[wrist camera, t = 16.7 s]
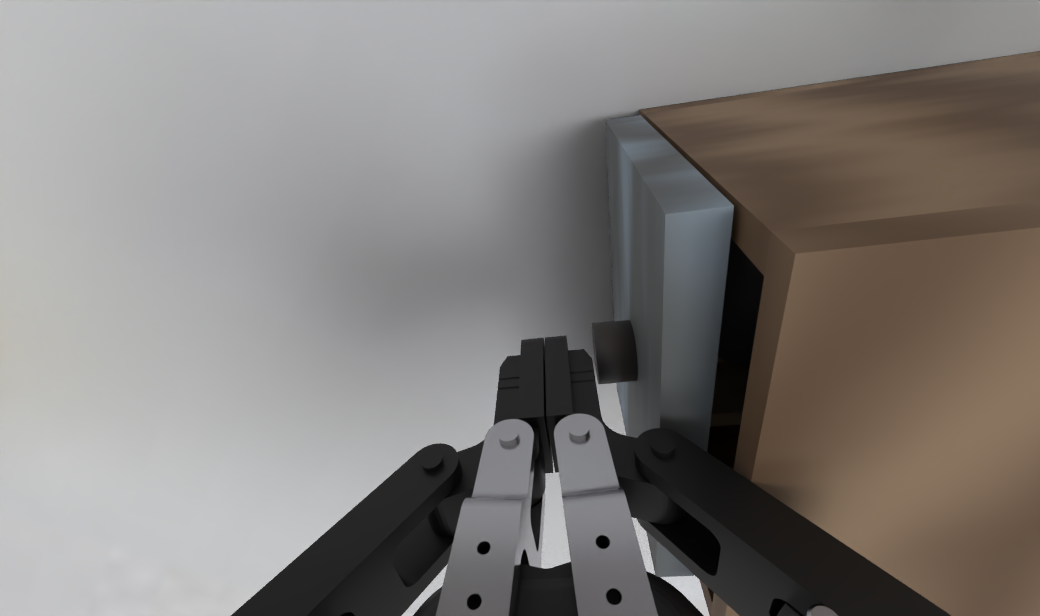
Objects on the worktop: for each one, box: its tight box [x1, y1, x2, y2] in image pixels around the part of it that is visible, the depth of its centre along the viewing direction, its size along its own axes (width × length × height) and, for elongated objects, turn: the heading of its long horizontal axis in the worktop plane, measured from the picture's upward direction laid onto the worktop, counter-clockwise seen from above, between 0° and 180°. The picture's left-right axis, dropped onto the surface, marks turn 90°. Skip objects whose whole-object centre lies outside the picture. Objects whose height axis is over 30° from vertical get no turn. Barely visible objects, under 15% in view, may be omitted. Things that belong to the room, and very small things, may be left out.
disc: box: [718, 238, 764, 368], centre depth 17 cm, size 6×6×2 cm
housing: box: [639, 51, 1040, 616], centre depth 14 cm, size 14×12×12 cm
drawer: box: [592, 115, 750, 577], centre depth 15 cm, size 15×12×9 cm
